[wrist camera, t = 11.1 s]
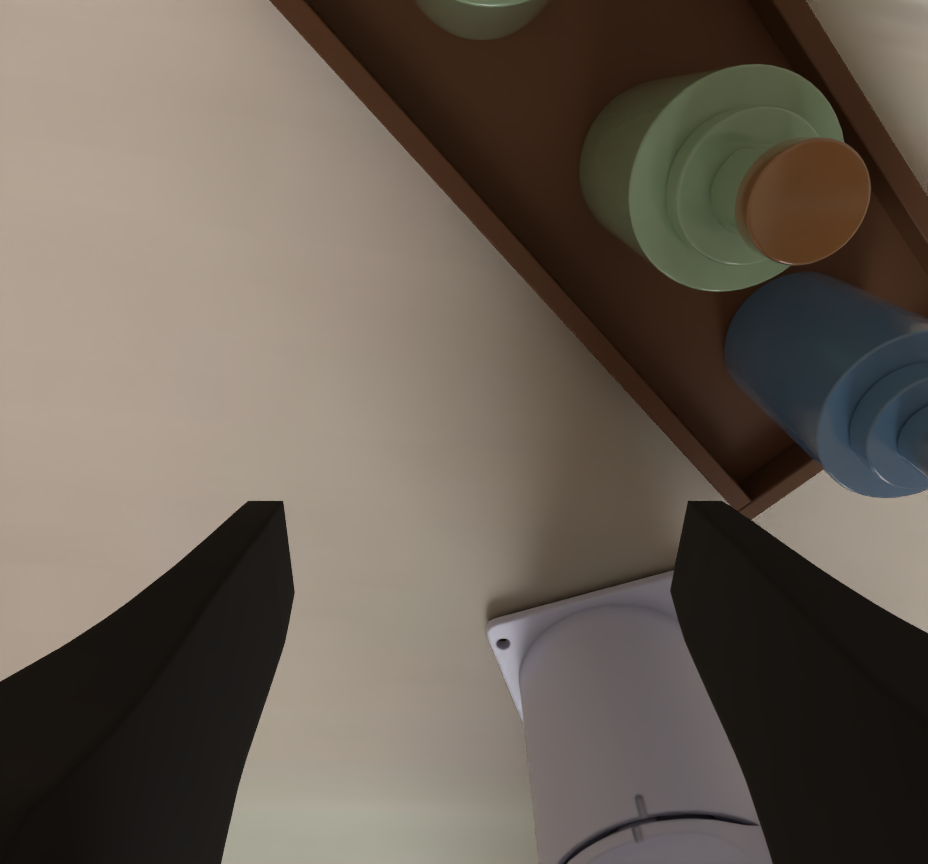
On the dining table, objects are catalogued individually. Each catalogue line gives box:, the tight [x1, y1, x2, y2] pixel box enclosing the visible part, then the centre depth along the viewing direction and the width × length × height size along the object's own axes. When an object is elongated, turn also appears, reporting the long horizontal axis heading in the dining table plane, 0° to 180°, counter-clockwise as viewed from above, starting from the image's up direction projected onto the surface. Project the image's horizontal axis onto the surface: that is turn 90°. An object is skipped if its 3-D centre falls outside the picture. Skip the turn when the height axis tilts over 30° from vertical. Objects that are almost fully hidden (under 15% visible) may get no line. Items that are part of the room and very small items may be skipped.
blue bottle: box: [724, 271, 928, 498], centre depth 17 cm, size 4×4×9 cm
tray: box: [270, 0, 928, 520], centre depth 18 cm, size 21×9×2 cm, turn 44°
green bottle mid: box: [579, 64, 871, 292], centre depth 15 cm, size 4×4×9 cm
